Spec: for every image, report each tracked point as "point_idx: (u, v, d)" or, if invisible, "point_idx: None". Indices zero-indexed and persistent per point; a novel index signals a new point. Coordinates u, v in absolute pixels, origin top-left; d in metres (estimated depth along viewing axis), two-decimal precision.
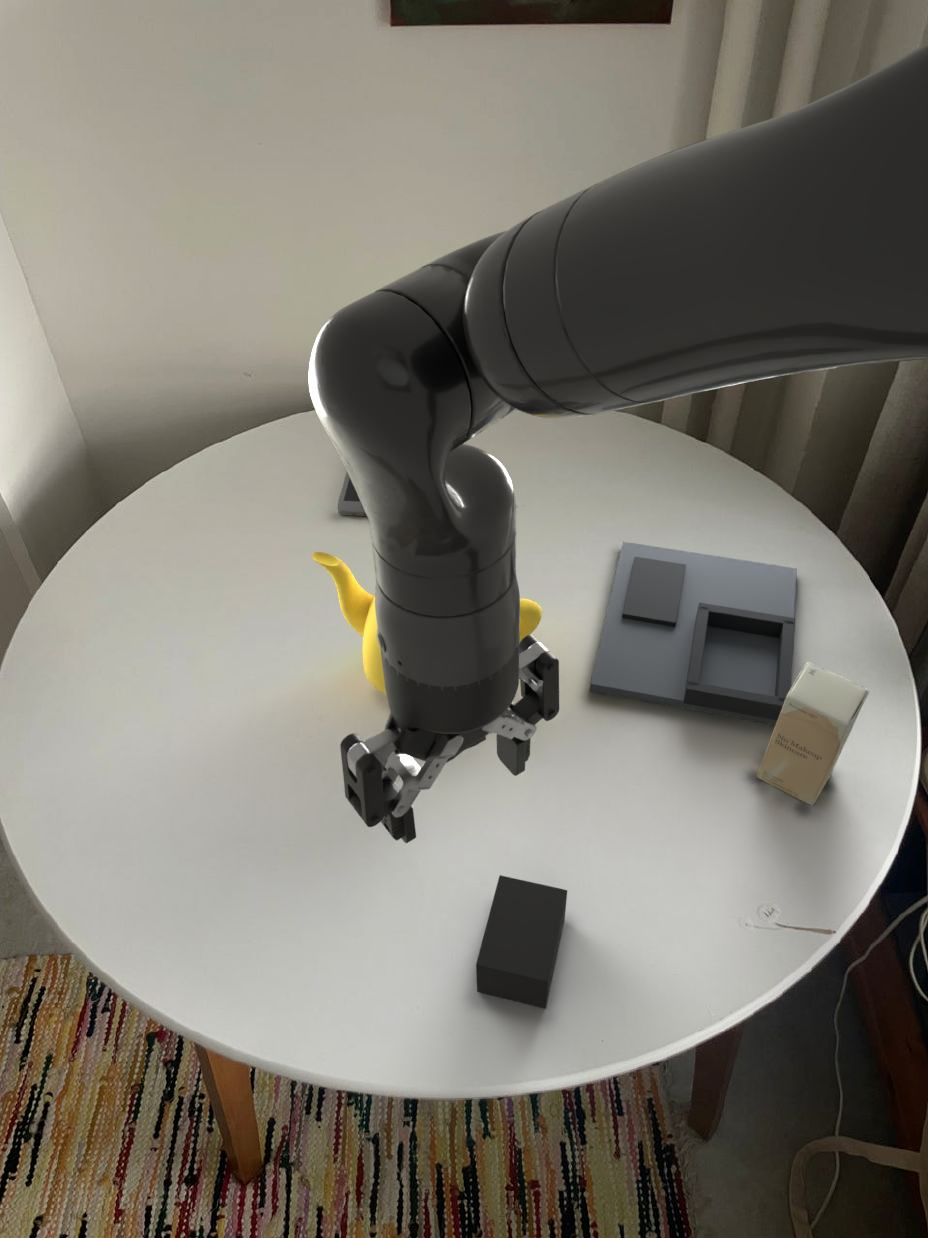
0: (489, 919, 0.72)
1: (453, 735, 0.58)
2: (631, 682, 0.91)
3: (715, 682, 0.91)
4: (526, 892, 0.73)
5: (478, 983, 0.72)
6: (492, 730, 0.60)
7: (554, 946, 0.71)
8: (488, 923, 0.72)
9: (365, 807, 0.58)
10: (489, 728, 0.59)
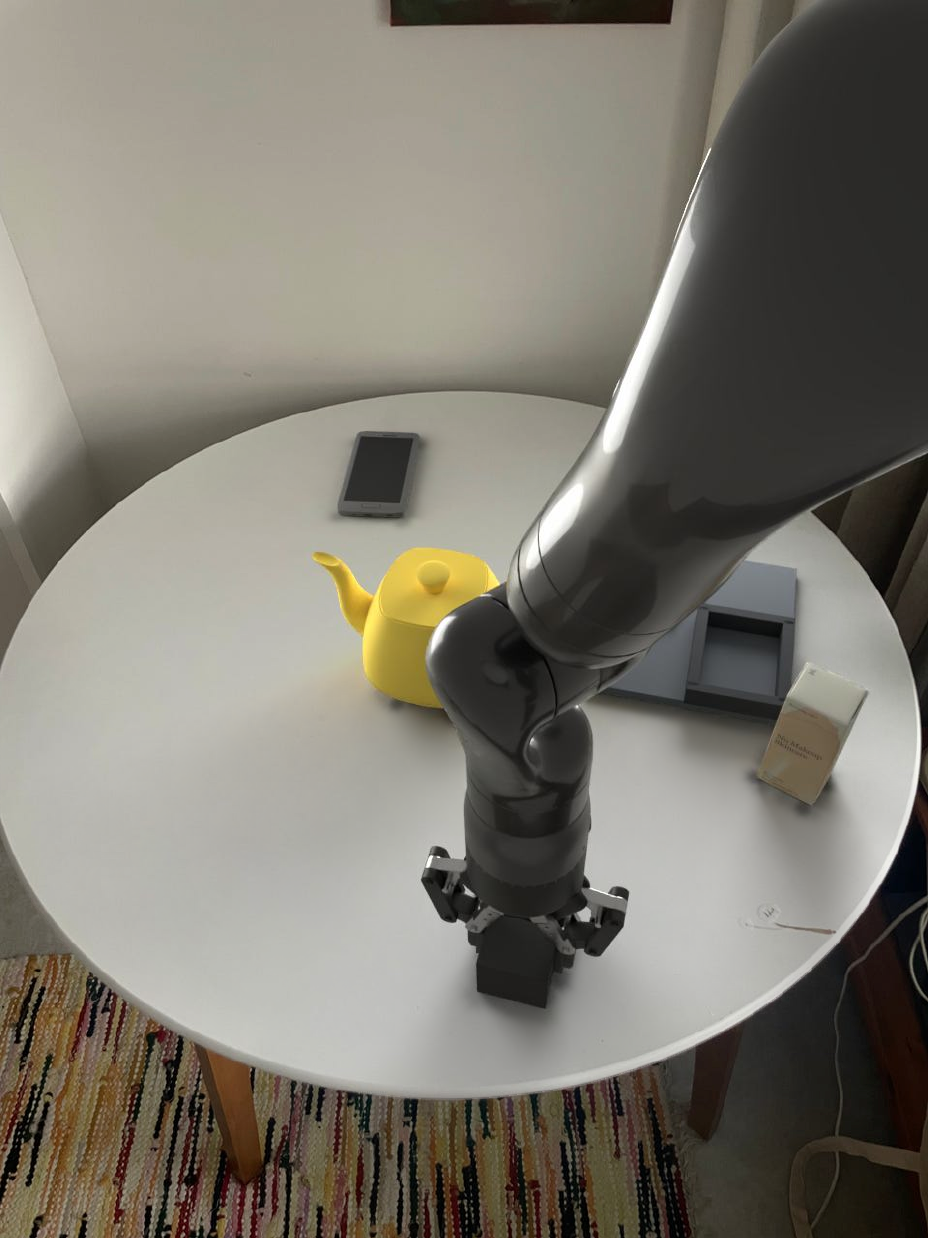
0: None
1: None
2: (631, 682, 0.91)
3: (715, 682, 0.91)
4: None
5: (478, 983, 0.72)
6: (535, 922, 0.67)
7: (554, 946, 0.71)
8: None
9: (434, 905, 0.70)
10: (533, 919, 0.66)
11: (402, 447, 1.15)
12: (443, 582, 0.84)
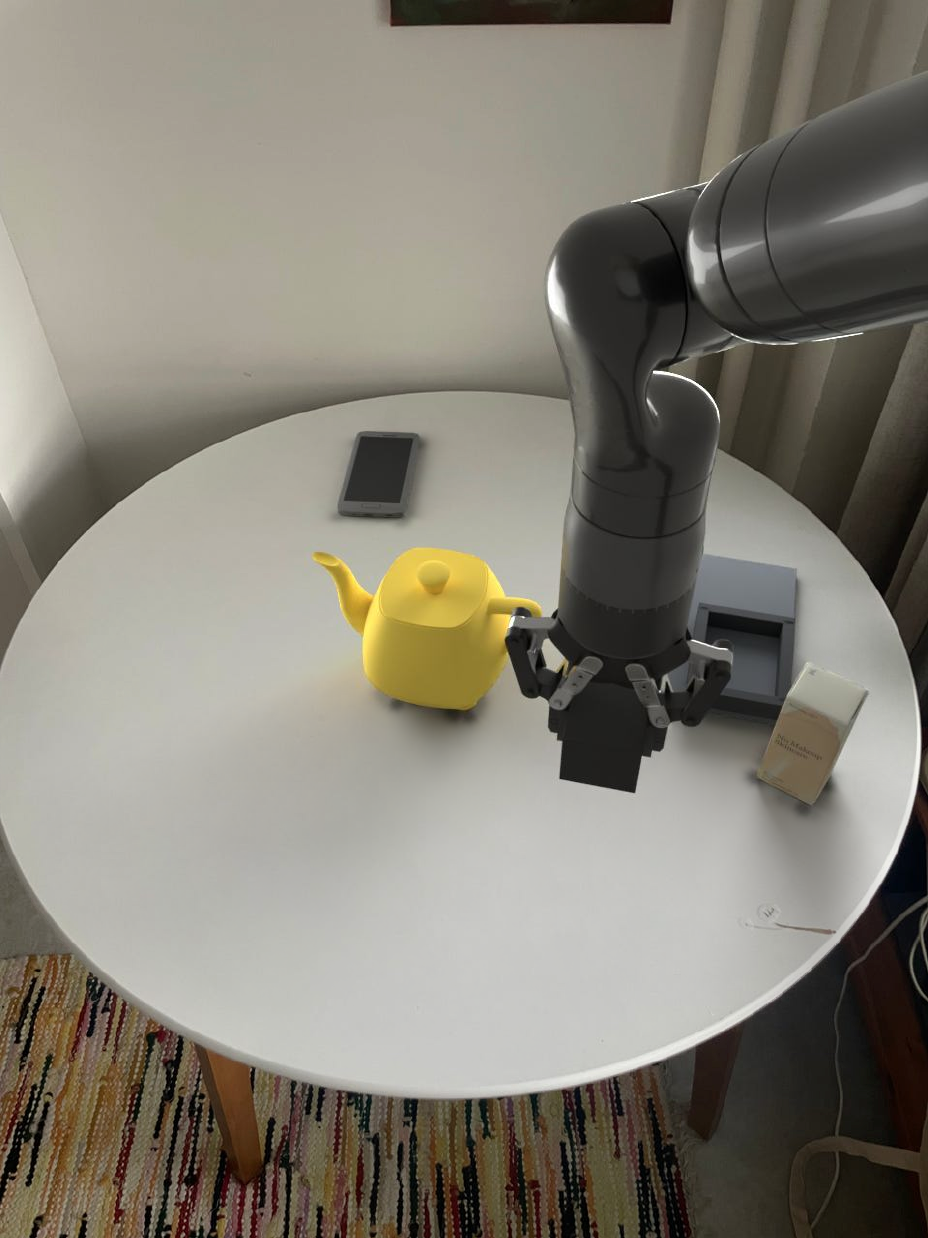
0: None
1: (594, 654, 0.60)
2: None
3: None
4: None
5: (562, 766, 0.66)
6: (632, 678, 0.61)
7: (646, 720, 0.65)
8: (572, 700, 0.66)
9: (516, 675, 0.64)
10: (631, 674, 0.61)
11: (402, 447, 1.15)
12: (443, 582, 0.84)
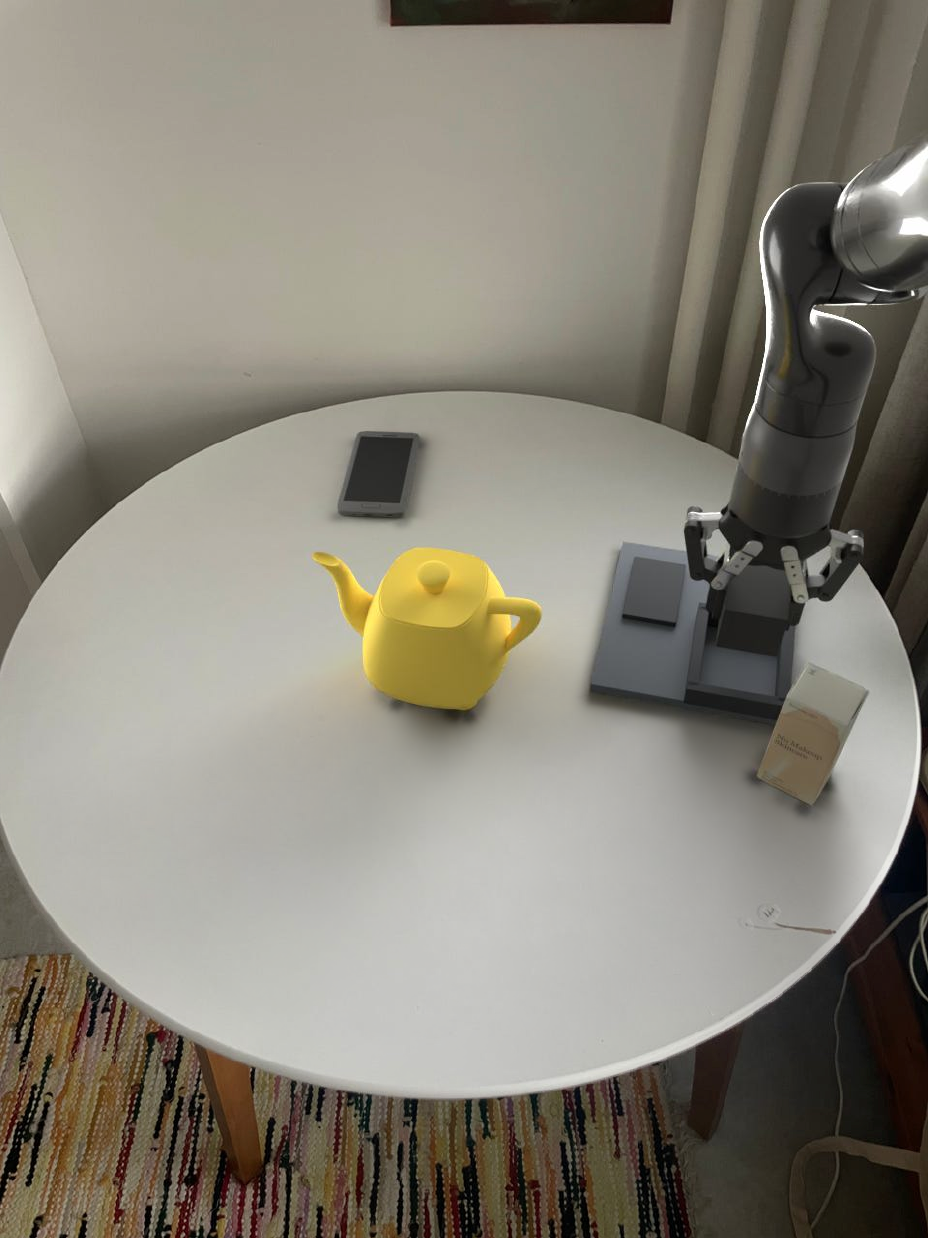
0: None
1: (757, 539, 0.78)
2: (631, 682, 0.91)
3: (715, 682, 0.91)
4: None
5: (720, 634, 0.84)
6: (784, 559, 0.79)
7: (788, 597, 0.83)
8: (729, 582, 0.84)
9: (688, 560, 0.83)
10: (784, 554, 0.79)
11: (402, 447, 1.15)
12: (443, 582, 0.84)
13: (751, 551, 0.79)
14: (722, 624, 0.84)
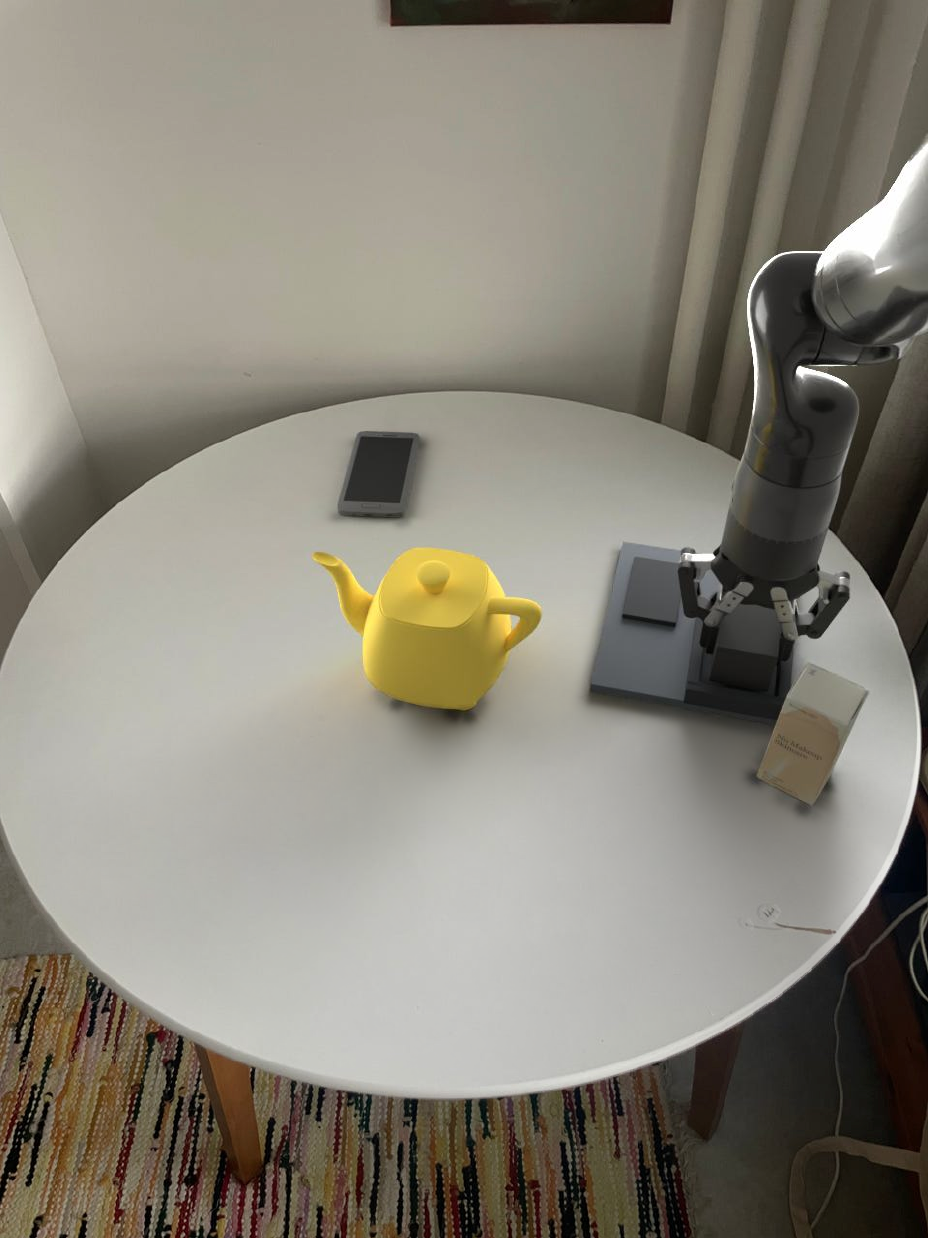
0: None
1: (748, 580, 0.82)
2: (631, 682, 0.91)
3: (715, 682, 0.91)
4: None
5: (713, 669, 0.88)
6: (774, 599, 0.82)
7: (779, 634, 0.86)
8: None
9: (682, 599, 0.86)
10: (774, 595, 0.82)
11: (402, 447, 1.15)
12: (443, 582, 0.84)
13: (742, 591, 0.82)
14: (715, 660, 0.87)
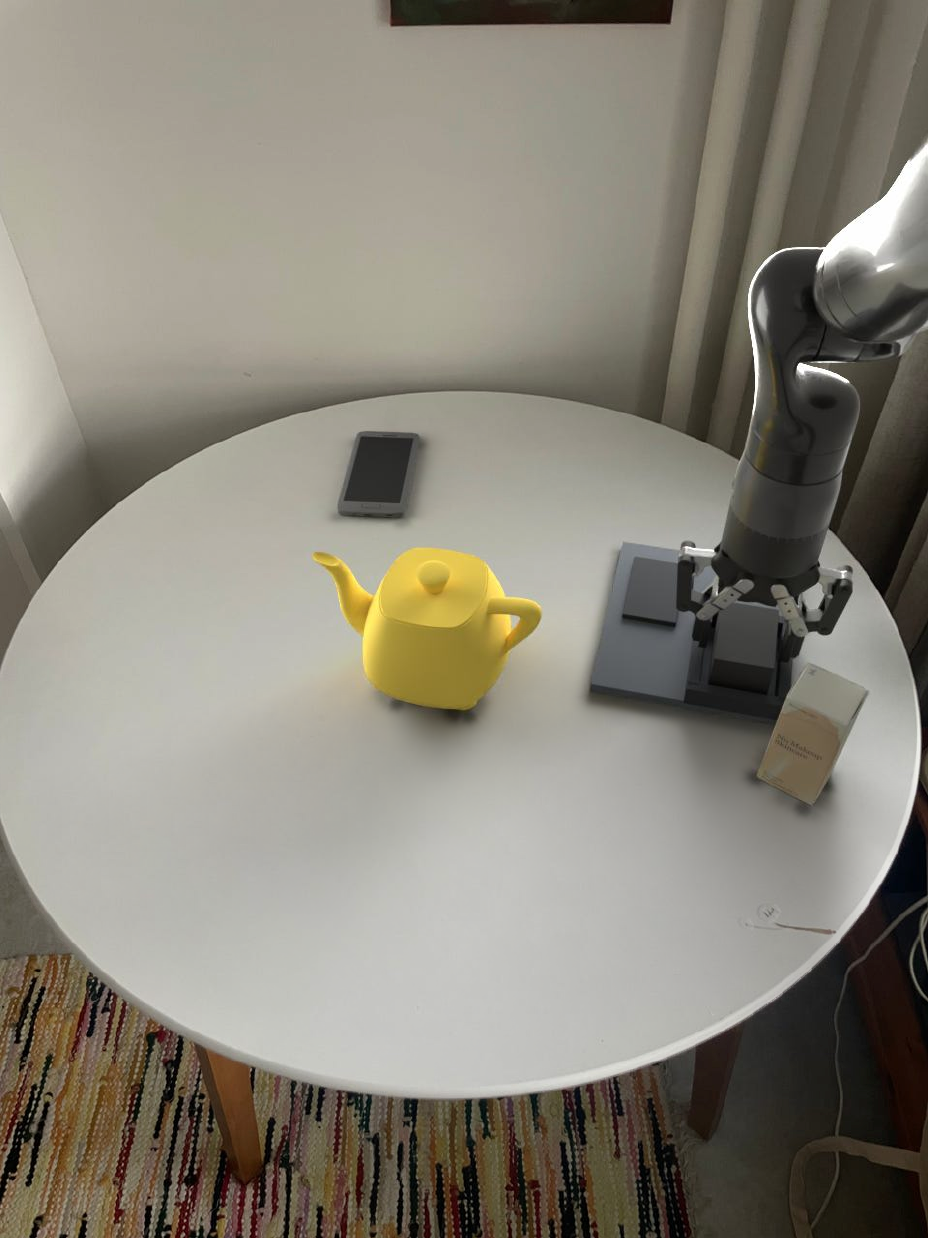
0: (719, 629, 0.89)
1: (748, 578, 0.81)
2: (631, 682, 0.91)
3: None
4: (746, 611, 0.90)
5: (710, 680, 0.89)
6: (776, 597, 0.82)
7: (775, 646, 0.87)
8: (718, 631, 0.89)
9: None
10: (775, 593, 0.82)
11: (402, 447, 1.15)
12: (443, 582, 0.84)
13: (742, 589, 0.82)
14: (712, 671, 0.88)
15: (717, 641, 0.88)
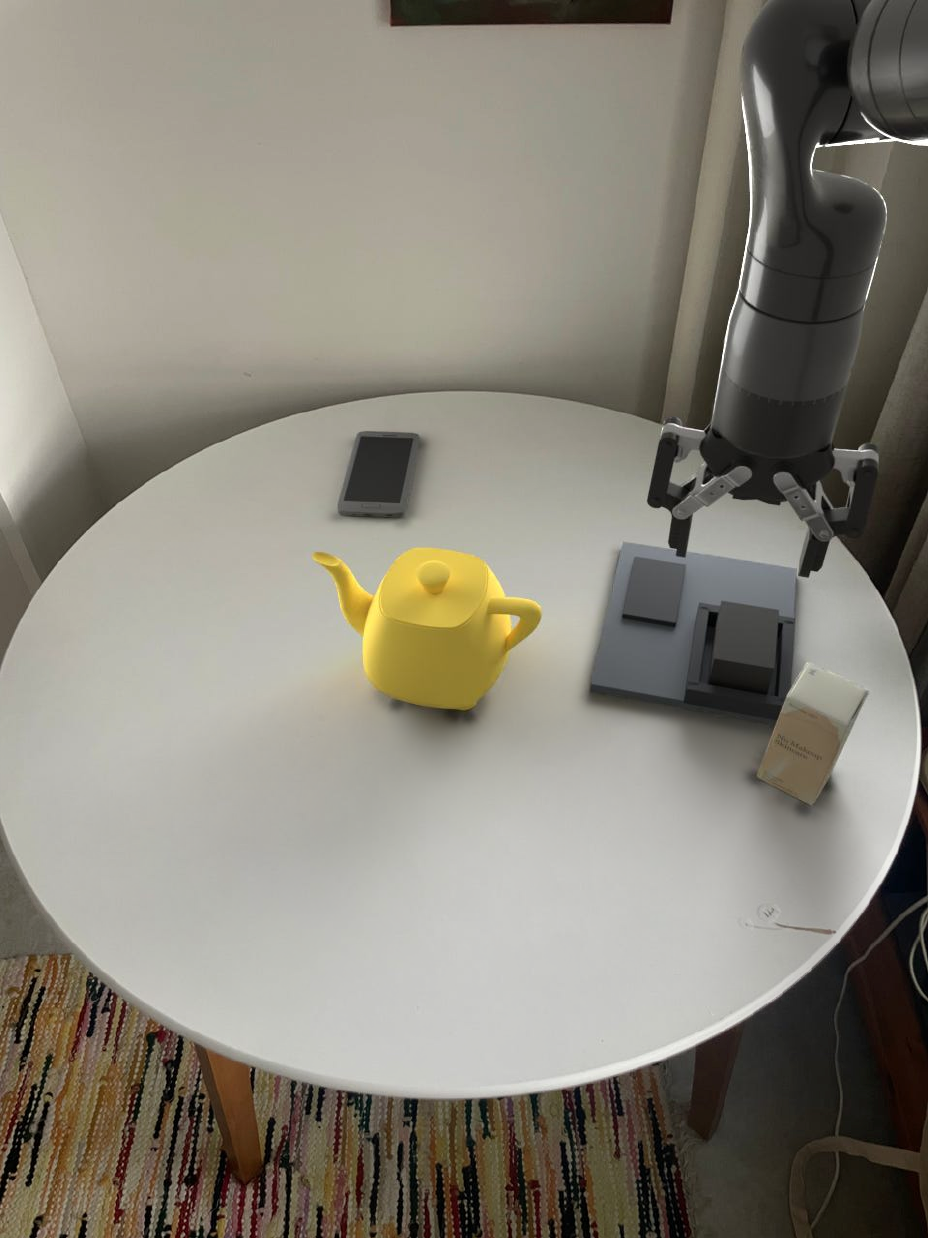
0: (719, 629, 0.89)
1: (745, 464, 0.65)
2: (631, 682, 0.91)
3: None
4: (746, 611, 0.90)
5: (710, 680, 0.89)
6: (782, 489, 0.66)
7: (775, 646, 0.87)
8: (718, 631, 0.89)
9: (651, 480, 0.69)
10: (779, 484, 0.66)
11: (402, 447, 1.15)
12: (443, 582, 0.84)
13: (738, 479, 0.66)
14: (712, 671, 0.88)
15: (717, 641, 0.88)
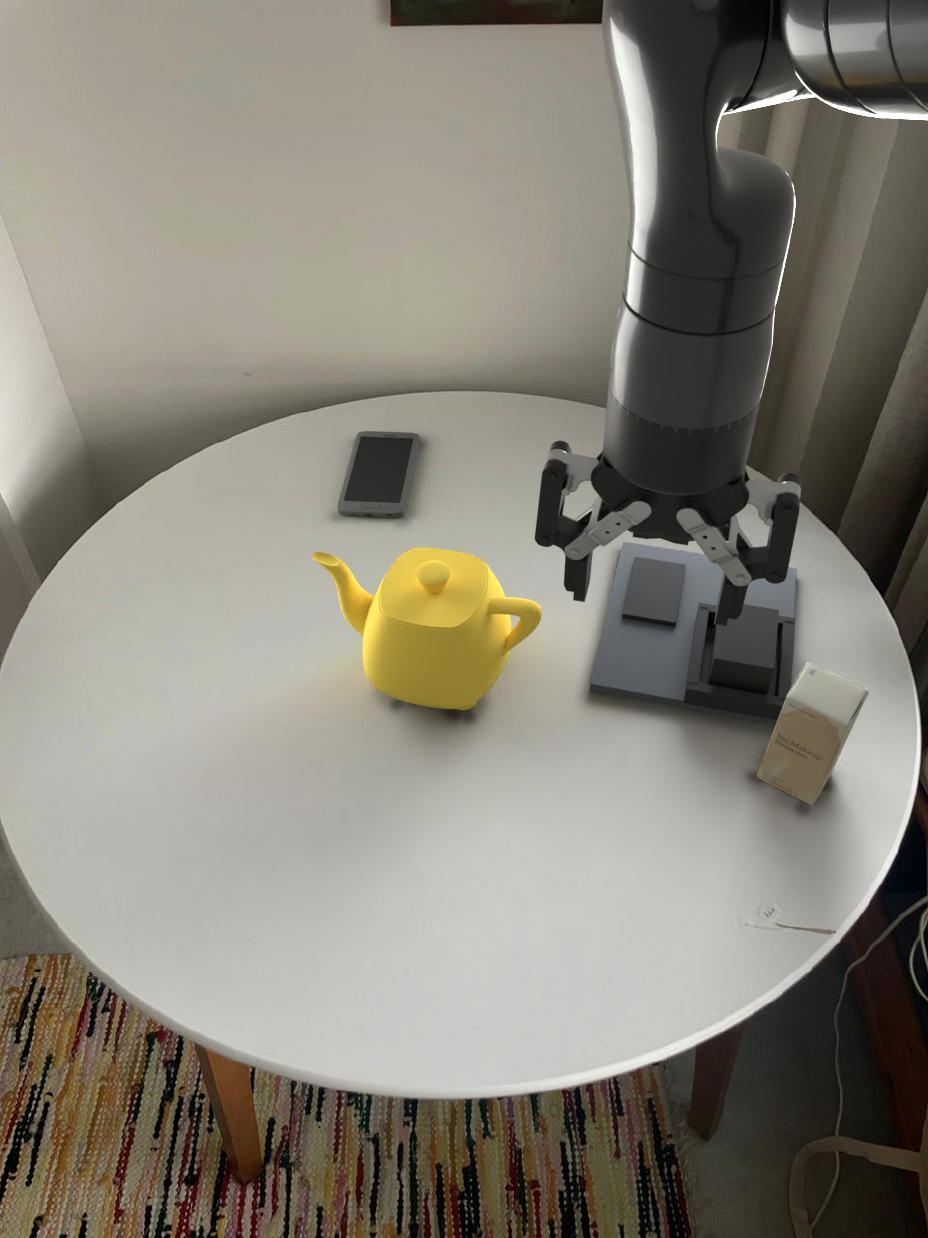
0: (719, 629, 0.89)
1: (643, 499, 0.55)
2: (631, 682, 0.91)
3: None
4: (746, 611, 0.90)
5: (710, 680, 0.89)
6: (687, 528, 0.55)
7: (775, 646, 0.87)
8: (718, 631, 0.89)
9: (537, 516, 0.58)
10: (684, 522, 0.55)
11: (402, 447, 1.15)
12: (443, 582, 0.84)
13: (636, 517, 0.56)
14: (712, 671, 0.88)
15: (717, 641, 0.88)
